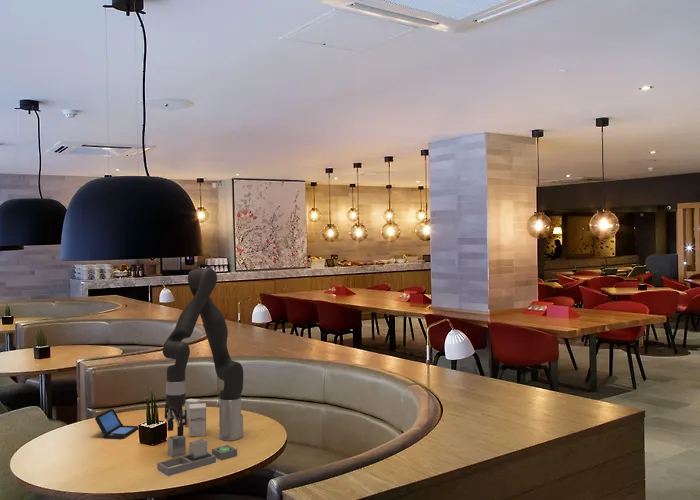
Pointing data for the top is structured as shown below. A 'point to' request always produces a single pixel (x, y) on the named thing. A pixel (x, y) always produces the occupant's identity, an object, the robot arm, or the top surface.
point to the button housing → (224, 453)
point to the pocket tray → (183, 464)
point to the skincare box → (188, 401)
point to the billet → (176, 445)
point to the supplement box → (197, 419)
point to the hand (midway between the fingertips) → (175, 433)
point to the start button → (224, 449)
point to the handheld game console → (113, 426)
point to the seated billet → (197, 450)
